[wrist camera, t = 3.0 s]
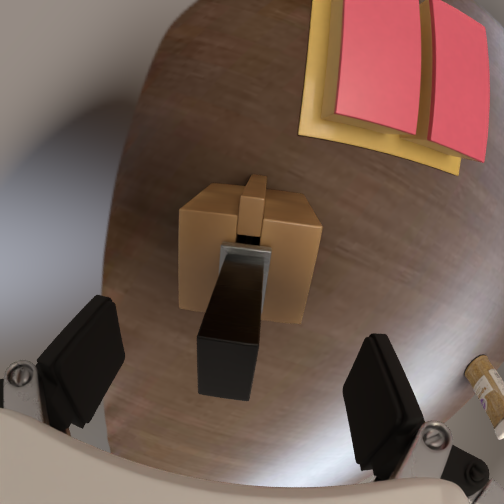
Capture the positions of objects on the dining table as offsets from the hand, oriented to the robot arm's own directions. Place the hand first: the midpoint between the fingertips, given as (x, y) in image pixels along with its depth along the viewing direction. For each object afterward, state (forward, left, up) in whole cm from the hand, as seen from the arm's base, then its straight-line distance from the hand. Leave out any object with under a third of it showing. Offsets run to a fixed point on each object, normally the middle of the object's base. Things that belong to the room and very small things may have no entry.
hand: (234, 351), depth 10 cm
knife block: (0, 0, -14) cm, 14 cm away
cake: (+10, +15, -14) cm, 23 cm away
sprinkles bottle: (+35, -16, -14) cm, 41 cm away
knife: (0, 0, -14) cm, 14 cm away
